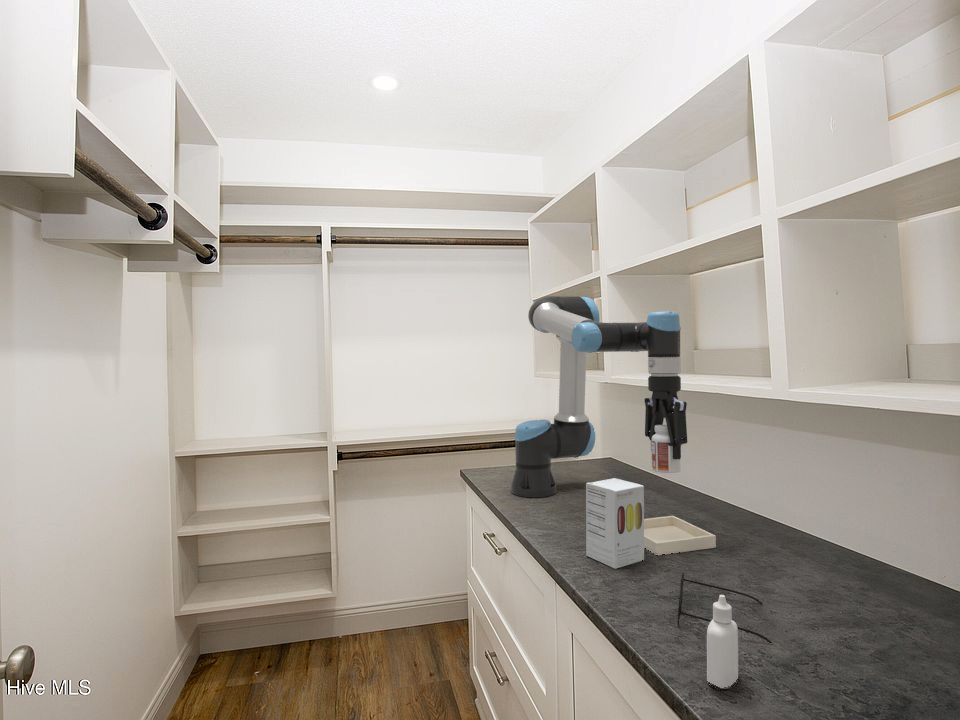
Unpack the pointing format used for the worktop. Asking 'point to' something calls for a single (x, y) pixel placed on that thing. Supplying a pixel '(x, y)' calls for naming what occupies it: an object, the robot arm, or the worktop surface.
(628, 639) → the worktop surface
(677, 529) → the tray
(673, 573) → the worktop surface
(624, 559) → the supplement box
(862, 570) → the worktop surface
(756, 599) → the glasses
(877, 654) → the worktop surface
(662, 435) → the pill bottle
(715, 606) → the eye dropper bottle
